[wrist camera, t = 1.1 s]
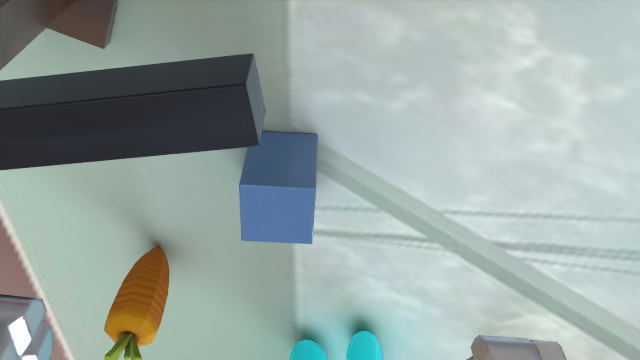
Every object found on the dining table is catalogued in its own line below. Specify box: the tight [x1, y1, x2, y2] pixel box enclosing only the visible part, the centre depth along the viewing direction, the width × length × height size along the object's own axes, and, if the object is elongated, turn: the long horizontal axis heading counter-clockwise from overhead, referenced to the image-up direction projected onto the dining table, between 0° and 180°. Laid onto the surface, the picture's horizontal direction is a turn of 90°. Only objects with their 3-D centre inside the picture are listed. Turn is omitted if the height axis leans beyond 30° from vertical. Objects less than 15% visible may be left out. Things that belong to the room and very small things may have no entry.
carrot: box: [104, 247, 169, 360], centre depth 52 cm, size 5×5×15 cm
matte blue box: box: [239, 131, 318, 244], centre depth 48 cm, size 6×6×8 cm
